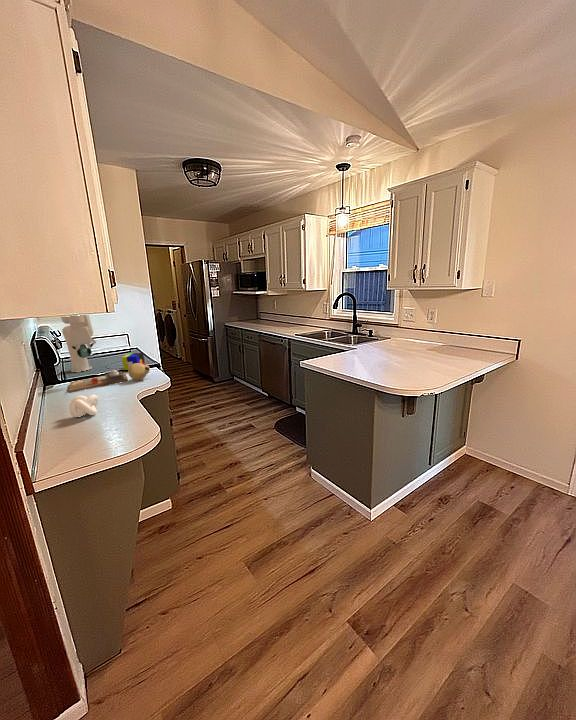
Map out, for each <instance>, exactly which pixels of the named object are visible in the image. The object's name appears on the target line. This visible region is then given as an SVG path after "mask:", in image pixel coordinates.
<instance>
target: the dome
mask: <svg viewBox="0 0 576 720" xmlns="http://www.w3.org/2000/svg"><path fill="white" fill-rule="evenodd" d="M119 372H120V371H119V370H116V369H111V370H110V371H109V372H108V374H109V377H111V376H117V375H119Z"/></svg>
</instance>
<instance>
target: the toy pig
mask: <svg viewBox="0 0 576 720" xmlns="http://www.w3.org/2000/svg"><path fill="white" fill-rule="evenodd" d="M150 370H151V368H150V366H149V365H147V364H145V365H143V364H140V363H134V364H132V365H131V366H130V367H129V370H128V371H127V372H128V376H129V377H130V378H131V380H132V381H135V380H136V381H137V380H139V381H144V378H146V377H147V375H148V374H149V373H150Z"/></svg>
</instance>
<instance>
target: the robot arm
mask: <svg viewBox="0 0 576 720" xmlns="http://www.w3.org/2000/svg"><path fill="white" fill-rule="evenodd" d="M60 319H61V321H62V323H63V324H65V326H63V328H62V330H61V331H62V336H63V337H64V340H65V343H66V346H67V349H68V352H69V357H70V363H71V365H72V369H71V370H70V372H71V373H73V372H77V373H82V372H81V371H84V372H87V371H86V370H88V371H90V370H92V368H93V367H92V365H90V364H89V361H88V357H86V358H81V354H80V350H79V349H80V345H86V347H87V348H88V352H89V356H91V354H93V353H92V347H93V346H94V345H95V344H96V343H97V341H96V340H95V339H93V336H94V330H93V325H92V322H91V318H90V315H89V314H88V315H80V316H70V317H60ZM67 324H68V325H67ZM66 325H67V326H66ZM89 369H90V370H89Z"/></svg>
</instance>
